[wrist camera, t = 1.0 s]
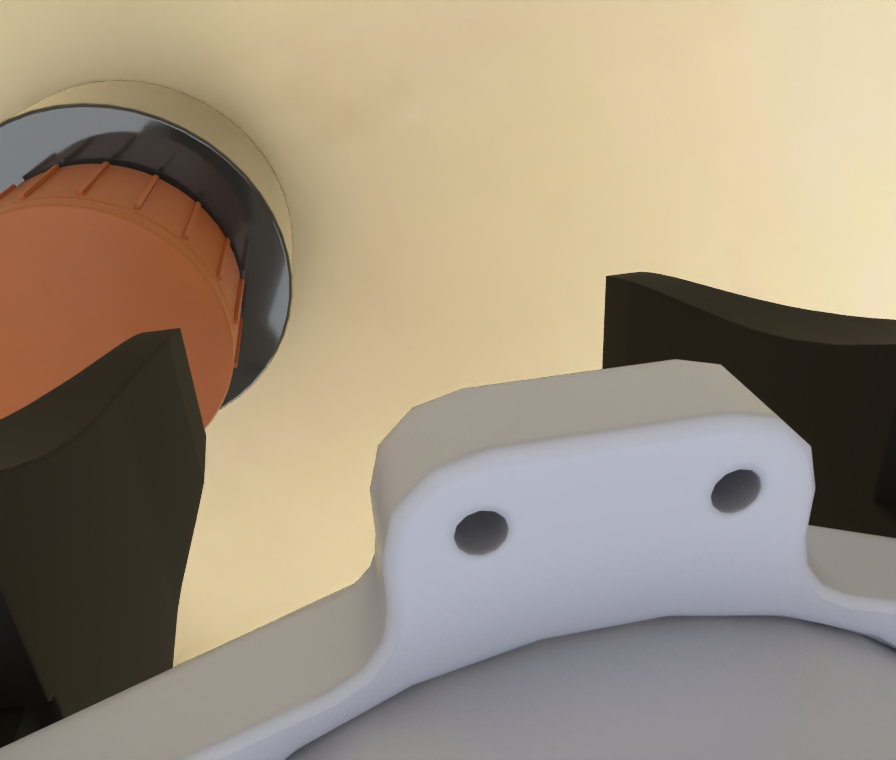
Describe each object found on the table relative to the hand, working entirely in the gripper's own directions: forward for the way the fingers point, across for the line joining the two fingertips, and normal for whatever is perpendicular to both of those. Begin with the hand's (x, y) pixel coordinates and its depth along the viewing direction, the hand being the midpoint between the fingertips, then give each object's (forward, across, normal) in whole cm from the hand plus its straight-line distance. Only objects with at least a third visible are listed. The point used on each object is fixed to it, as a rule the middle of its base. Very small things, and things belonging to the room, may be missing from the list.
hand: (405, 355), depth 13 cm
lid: (+6, +6, 0) cm, 8 cm away
